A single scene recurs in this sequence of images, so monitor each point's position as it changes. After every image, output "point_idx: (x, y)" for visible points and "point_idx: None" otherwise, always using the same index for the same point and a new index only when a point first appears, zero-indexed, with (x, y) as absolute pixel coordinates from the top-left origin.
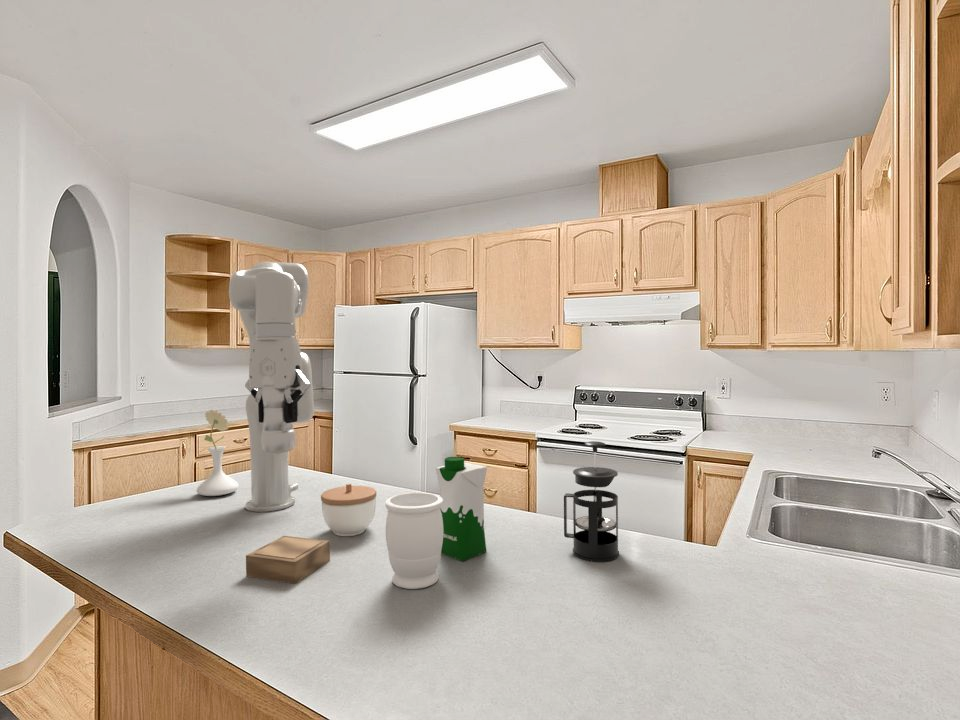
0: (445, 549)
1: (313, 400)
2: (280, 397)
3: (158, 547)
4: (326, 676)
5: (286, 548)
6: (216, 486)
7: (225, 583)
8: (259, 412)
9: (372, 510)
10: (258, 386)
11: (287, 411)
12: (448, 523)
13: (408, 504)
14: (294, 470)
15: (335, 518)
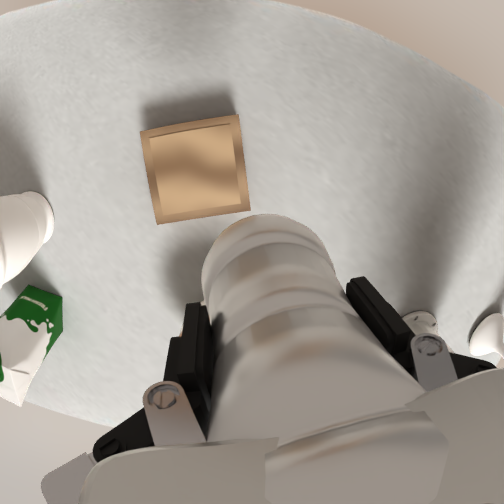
0: (47, 295)
1: None
2: (222, 395)
3: (439, 157)
4: (8, 37)
5: (194, 164)
6: (487, 329)
7: (247, 88)
8: (378, 300)
9: None
10: (450, 395)
11: (183, 341)
12: (20, 308)
13: (6, 276)
14: None
15: None
